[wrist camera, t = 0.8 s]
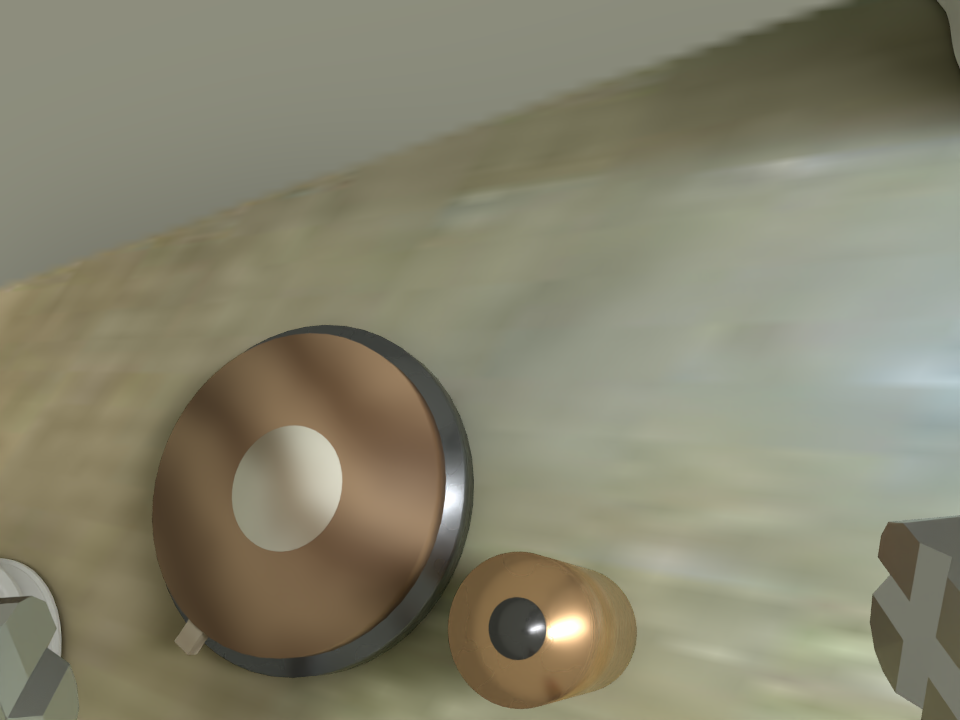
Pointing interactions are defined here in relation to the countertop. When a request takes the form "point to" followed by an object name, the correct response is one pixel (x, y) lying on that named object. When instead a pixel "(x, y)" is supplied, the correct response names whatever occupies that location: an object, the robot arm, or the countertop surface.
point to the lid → (29, 592)
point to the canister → (539, 630)
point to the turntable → (297, 498)
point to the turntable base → (446, 542)
